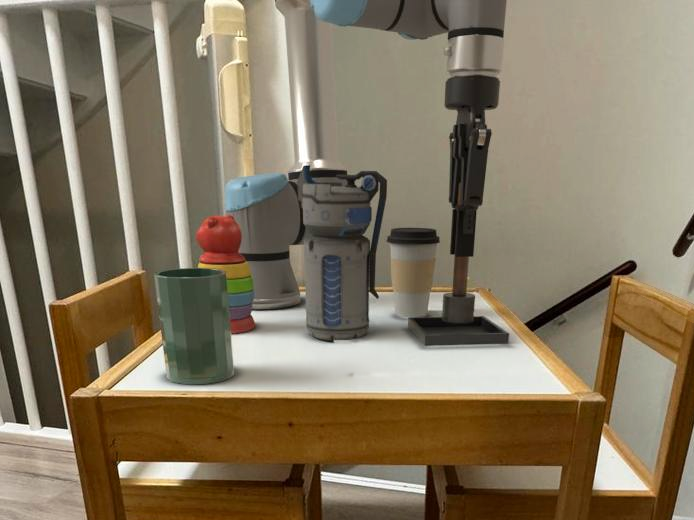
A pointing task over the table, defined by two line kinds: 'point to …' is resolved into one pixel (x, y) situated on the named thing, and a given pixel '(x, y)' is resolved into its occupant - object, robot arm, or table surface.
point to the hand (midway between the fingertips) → (461, 255)
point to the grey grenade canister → (340, 252)
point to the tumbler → (195, 324)
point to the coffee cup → (412, 269)
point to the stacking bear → (229, 266)
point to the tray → (457, 331)
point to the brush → (459, 293)
